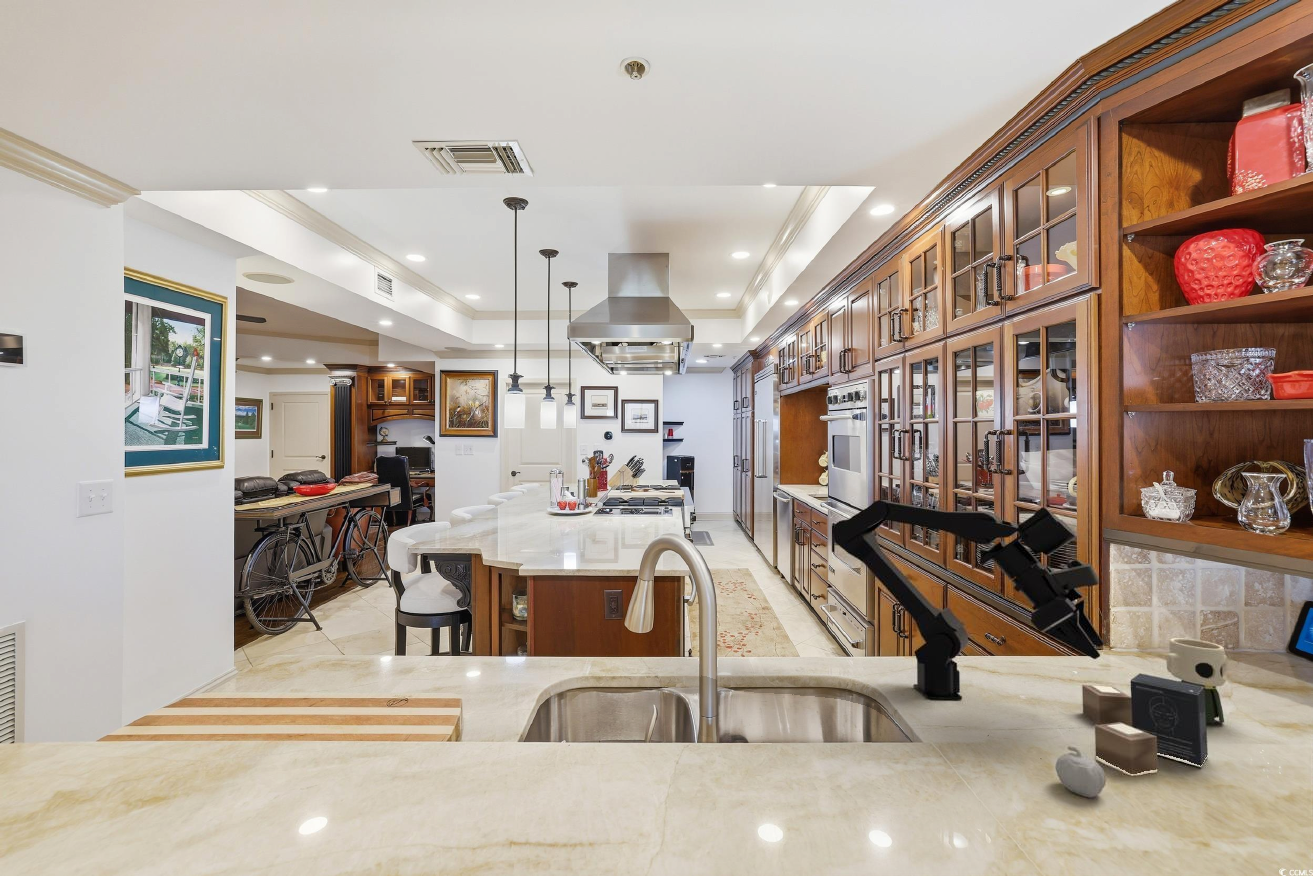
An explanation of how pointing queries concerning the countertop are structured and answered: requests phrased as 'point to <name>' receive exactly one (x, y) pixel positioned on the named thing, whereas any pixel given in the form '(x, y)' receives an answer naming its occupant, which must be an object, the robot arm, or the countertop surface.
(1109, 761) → the walnut cube near
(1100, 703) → the walnut cube far
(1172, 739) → the box
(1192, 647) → the character mug
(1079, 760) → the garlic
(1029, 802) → the countertop surface
